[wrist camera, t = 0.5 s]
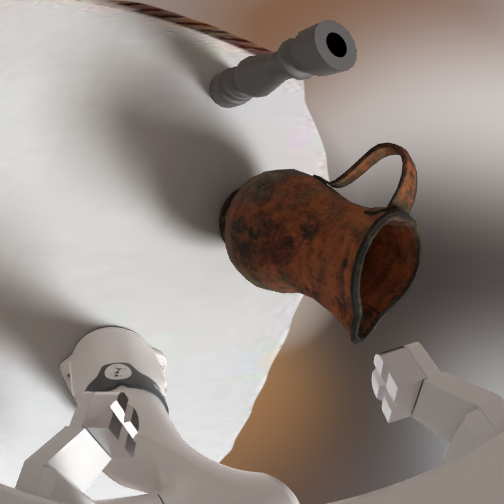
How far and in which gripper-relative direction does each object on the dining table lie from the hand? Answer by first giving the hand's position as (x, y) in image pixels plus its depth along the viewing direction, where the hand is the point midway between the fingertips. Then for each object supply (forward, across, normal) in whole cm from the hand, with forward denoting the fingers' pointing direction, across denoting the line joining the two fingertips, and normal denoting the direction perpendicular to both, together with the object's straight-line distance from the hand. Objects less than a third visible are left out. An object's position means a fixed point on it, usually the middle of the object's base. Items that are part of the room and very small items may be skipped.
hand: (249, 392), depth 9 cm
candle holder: (+46, +1, +13) cm, 48 cm away
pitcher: (+45, +2, -7) cm, 46 cm away
